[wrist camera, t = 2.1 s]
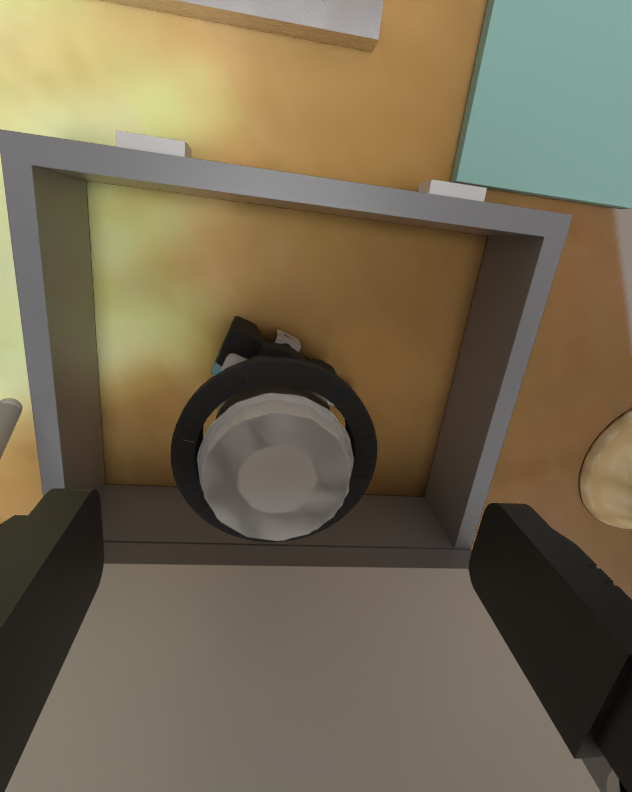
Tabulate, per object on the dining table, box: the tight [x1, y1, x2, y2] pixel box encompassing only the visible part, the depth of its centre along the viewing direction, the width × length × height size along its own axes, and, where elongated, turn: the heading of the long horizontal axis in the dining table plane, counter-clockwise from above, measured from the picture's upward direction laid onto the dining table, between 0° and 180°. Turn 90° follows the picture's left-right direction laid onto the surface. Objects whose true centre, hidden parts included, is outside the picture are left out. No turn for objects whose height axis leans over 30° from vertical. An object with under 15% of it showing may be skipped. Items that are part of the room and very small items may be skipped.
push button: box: [171, 316, 377, 542], centre depth 15 cm, size 7×5×10 cm
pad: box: [450, 0, 632, 209], centre depth 16 cm, size 8×8×1 cm
